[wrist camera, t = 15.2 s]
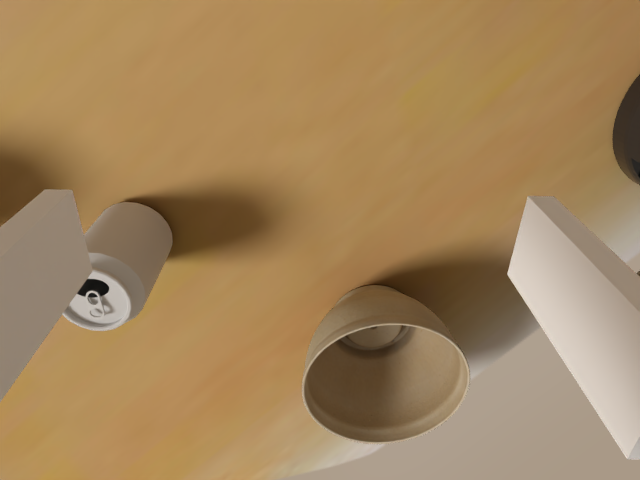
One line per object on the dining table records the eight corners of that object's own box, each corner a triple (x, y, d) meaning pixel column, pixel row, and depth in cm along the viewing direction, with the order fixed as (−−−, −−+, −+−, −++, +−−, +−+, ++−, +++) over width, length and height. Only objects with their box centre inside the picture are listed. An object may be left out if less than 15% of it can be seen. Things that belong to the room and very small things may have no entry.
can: (166, 195, 47) (125, 260, 36) (181, 260, 51) (149, 336, 40) (90, 200, 47) (28, 267, 36) (111, 264, 51) (60, 341, 40)
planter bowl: (364, 387, 61) (374, 465, 51) (273, 315, 55) (266, 388, 45) (470, 319, 56) (503, 392, 46) (383, 230, 49) (401, 293, 40)
